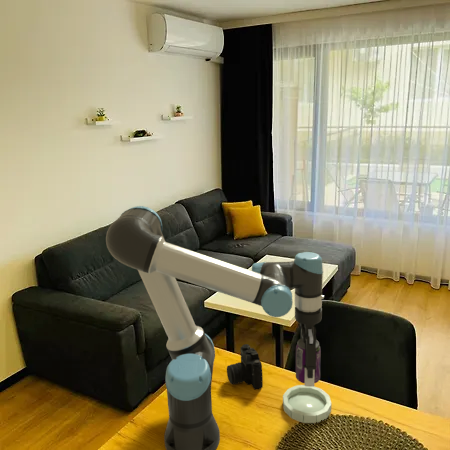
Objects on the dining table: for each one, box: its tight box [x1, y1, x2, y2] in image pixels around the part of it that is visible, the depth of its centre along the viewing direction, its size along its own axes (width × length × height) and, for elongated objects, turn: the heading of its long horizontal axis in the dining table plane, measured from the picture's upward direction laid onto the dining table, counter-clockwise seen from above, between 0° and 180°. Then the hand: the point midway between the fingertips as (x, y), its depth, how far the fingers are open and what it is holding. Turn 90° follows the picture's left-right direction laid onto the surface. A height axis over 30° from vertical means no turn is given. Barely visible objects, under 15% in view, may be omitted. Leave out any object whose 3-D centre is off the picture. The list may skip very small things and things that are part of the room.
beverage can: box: [295, 337, 322, 385], centre depth 127 cm, size 7×7×12 cm
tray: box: [282, 384, 332, 424], centre depth 131 cm, size 14×14×2 cm
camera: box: [226, 343, 264, 391], centre depth 144 cm, size 14×11×10 cm
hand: (307, 377), depth 129 cm, fingers closed on beverage can, 7 cm apart
